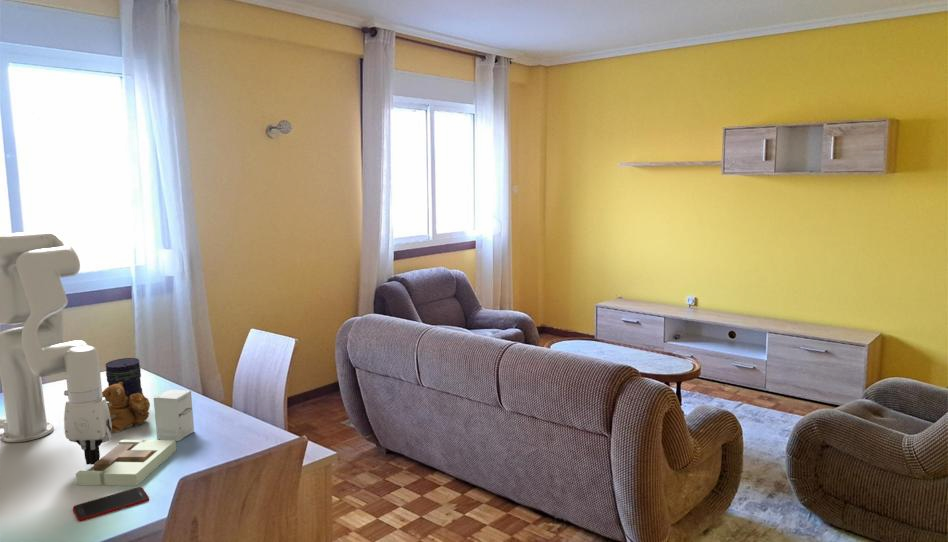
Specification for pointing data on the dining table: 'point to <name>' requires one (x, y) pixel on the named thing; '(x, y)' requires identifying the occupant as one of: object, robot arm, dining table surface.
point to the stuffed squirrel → (125, 407)
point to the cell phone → (110, 503)
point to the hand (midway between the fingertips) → (93, 462)
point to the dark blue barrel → (125, 374)
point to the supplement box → (173, 415)
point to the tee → (122, 456)
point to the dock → (130, 465)
